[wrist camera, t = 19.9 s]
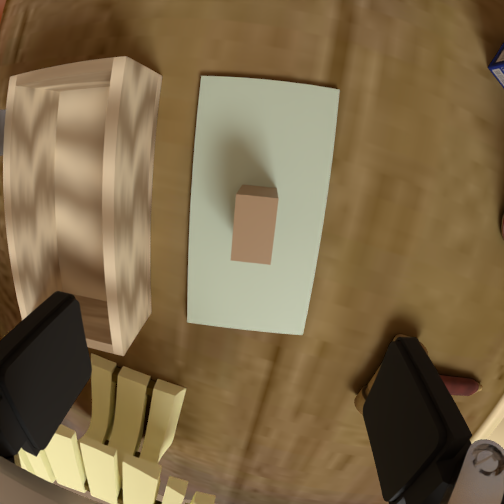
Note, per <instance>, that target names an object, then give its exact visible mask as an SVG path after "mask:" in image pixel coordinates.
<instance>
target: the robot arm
mask: <svg viewBox="0 0 504 504" xmlns="http://www.w3.org/2000/svg"><path fill="white" fill-rule="evenodd" d="M91 373H92V365H91V361H90V357H89V352H88V347H87V342H86V337H85V332H84V327H83V321H82V315H81V309H80V304H79V301H78V300H76V298H75V296H74V295H73V294H69V293H65V292H61V291H56V292H54V293H53V294H52V295H51V296H50V297H49V298H47V299H46V300H45V301H44V302H43V303H42V304H40V305H39V306H38V307H37V308H36V309H35V310H34V311H32V312H31V313H30V314H29V315H28V316H27V317H26V318H25V319H23V320H22V321H21V322H20V323H19V324H18V325H17V326H16V327H15V328H14V329H13V330H11V331H10V332H9V333H8V334H7V335H6V336H5V337H4V338H3V339H2V340H1V341H0V504H102V503H99V502H96V501H93V500H91V499H88V498H85V497H83V496H80V495H78V494H76V493H73V492H71V491H68V490H66V489H64V488H61V487H59V486H57V485H55V484H53V483H51V482H48V481H46V480H44V479H42V478H40V477H38V476H36V475H34V474H32V473H30V472H29V471H27V470H25V469H23V468H22V467H21V463H20V458H19V453H18V452H19V451H20V449H21V447H22V449H23V450H24V451H26V452H28V453H30V454H32V455H34V456H36V457H37V455H38V454H39V452H40V450H44V449H45V448H46V447H47V446H48V444H49V442H50V441H51V439H52V437H53V436H54V434H55V432H56V431H57V429H58V427H59V426H60V424H61V422H62V421H63V419H64V417H65V416H66V414H67V413H68V411H69V409H70V408H71V406H72V405H73V403H74V402H75V400H76V398H77V397H78V395H79V394H80V392H81V391H82V389H83V388H84V386H85V384H86V383H87V381H88V380H89V378H90V376H91ZM363 417H364V421H365V425H366V428H367V432H368V436H369V440H370V444H371V448H372V452H373V456H374V460H375V464H376V468H377V473H378V477H379V481H380V486H381V490H382V495H383V498H384V500H385V501H386V502H388V501H389V504H504V449H503V448H502V447H501V446H500V445H499V444H497V443H495V442H494V441H491V440H487V439H486V440H478V441H475V442H474V443H473V444H471V442H470V440H469V439H470V438H471V436H472V434H471V432H470V430H469V428H468V426H467V424H466V422H465V420H464V418H463V416H462V415H461V413H460V411H459V409H458V407H457V405H456V403H455V402H454V400H453V398H452V396H451V394H450V393H449V391H448V389H447V387H446V386H445V384H444V382H443V380H442V379H441V377H440V375H439V373H438V372H437V370H436V368H435V367H434V365H433V363H432V362H431V360H430V358H429V357H428V355H427V353H426V352H425V350H424V348H423V347H422V345H421V344H420V342H419V340H418V339H417V338H415V337H397V339H396V340H395V341H392V342H391V343H390V345H389V347H388V349H387V352H386V354H385V357H384V359H383V362H382V364H381V367H380V369H379V371H378V374H377V376H376V378H375V381H374V383H373V385H372V388H371V390H370V392H369V394H368V396H367V398H366V401H365V403H364V405H363Z"/></svg>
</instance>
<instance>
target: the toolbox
mask: <svg viewBox="0 0 504 504" xmlns="http://www.w3.org/2000/svg"><path fill="white" fill-rule="evenodd" d="M161 81H162V76H161V75H160V74H158V73H156V72H154V71H153V70H151V69H149V68H147V67H145V66H144V65H142V64H140V63H138V62H136V61H134V60H133V59H131V58H129V57H127V56H122V57H112V58H103V59H96V60H88V61H82V62H75V63H69V64H64V65H58V66H53V67H48V68H44V69H39V70H35V71H30V72H26V73H22V74H18V75H14V76H11V77H10V80H9V87H8V95H7V104H6V110H0V156H1V155H3V187H4V207H5V221H6V231H7V240H8V248H9V255H10V262H11V268H12V274H13V280H14V285H15V290H16V295H17V300H18V305H19V309H20V313H21V317H22V320H23V319H25V318H26V317H27V316H28V315H29V314H30V313H31V312H32V311H34V310H35V309H36V308H37V307H38V306H39V305H40V304H42V303H43V302H44V301H45V300H46V299H47V298H49V297H50V296H51V295H52V294H53V293H54V292H56V291H61V292H65V293H69V294H73V295H74V296H75V298H76V300H78V301H79V304H80V309H81V315H82V321H83V327H84V332H85V337H86V342H87V347H89V348H93V349H97V350H101V351H105V352H109V353H113V354H117V355H121V356H124V355H125V353H126V352H127V350H128V348H129V347H130V345H131V344H132V342H133V340H134V339H135V337H136V336H137V334H138V333H139V331H140V330H141V328H142V326H143V325H144V323H145V322H146V320H147V319H148V317H149V316H150V314H151V281H150V231H151V197H152V177H153V161H154V148H155V136H156V125H157V115H158V106H159V97H160V89H161Z"/></svg>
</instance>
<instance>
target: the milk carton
mask: <svg viewBox="0 0 504 504" xmlns="http://www.w3.org/2000/svg"><path fill="white" fill-rule="evenodd" d="M488 68H489V70H490V71H491V72H492V73H493V75H494V76H495V77H496V79H497V80H498V81H499V83H500V84H501V85H502V87H503V88H504V43H503V44H502V46H501V48H500V49H499V51H498V52H497V54H496V56H495V57H494V59H493V60H492V62H491V63H490V65H489V66H488Z"/></svg>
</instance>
